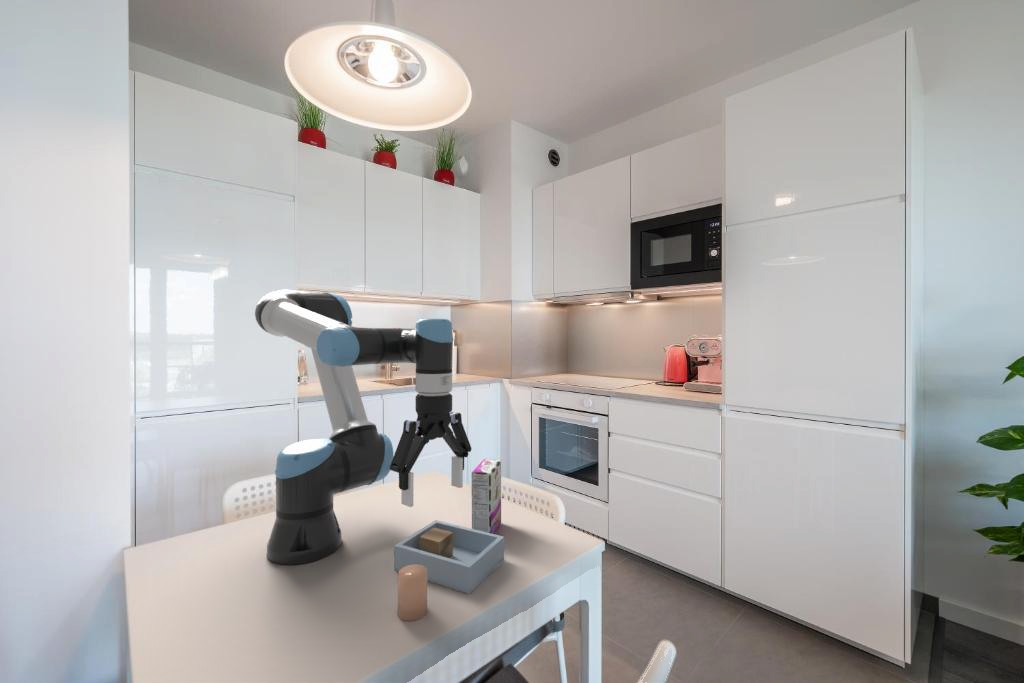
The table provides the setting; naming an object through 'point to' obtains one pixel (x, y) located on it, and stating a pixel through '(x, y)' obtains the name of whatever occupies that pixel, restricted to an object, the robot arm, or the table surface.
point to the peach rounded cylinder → (412, 592)
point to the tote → (454, 556)
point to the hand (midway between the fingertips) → (433, 495)
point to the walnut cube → (437, 542)
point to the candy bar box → (486, 496)
